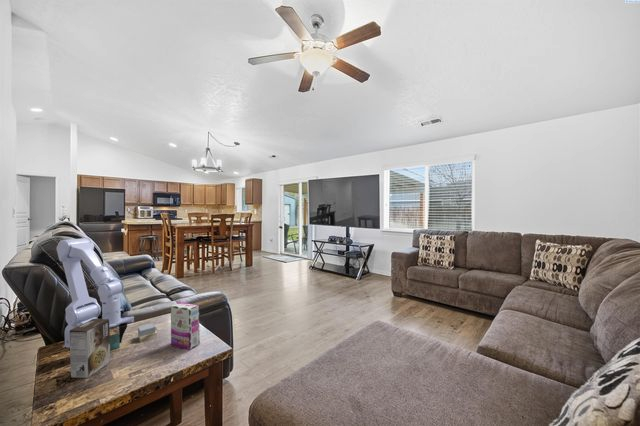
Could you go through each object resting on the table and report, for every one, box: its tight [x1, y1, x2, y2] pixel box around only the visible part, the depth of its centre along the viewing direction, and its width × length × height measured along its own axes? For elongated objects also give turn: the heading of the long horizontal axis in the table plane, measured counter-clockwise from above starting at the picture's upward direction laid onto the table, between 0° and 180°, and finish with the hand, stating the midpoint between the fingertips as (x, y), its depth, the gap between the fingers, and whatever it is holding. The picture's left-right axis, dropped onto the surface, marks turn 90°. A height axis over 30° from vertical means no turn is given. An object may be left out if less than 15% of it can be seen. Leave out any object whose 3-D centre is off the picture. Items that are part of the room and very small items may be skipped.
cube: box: [110, 332, 121, 352], centre depth 104 cm, size 4×4×4 cm
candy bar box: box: [170, 301, 200, 350], centre depth 106 cm, size 11×5×16 cm, turn 68°
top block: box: [137, 322, 156, 337], centre depth 112 cm, size 6×6×2 cm
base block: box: [137, 329, 158, 343], centre depth 112 cm, size 6×6×2 cm
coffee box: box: [69, 318, 112, 378], centre depth 90 cm, size 9×6×16 cm
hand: (112, 344), depth 104 cm, fingers closed on cube, 4 cm apart
